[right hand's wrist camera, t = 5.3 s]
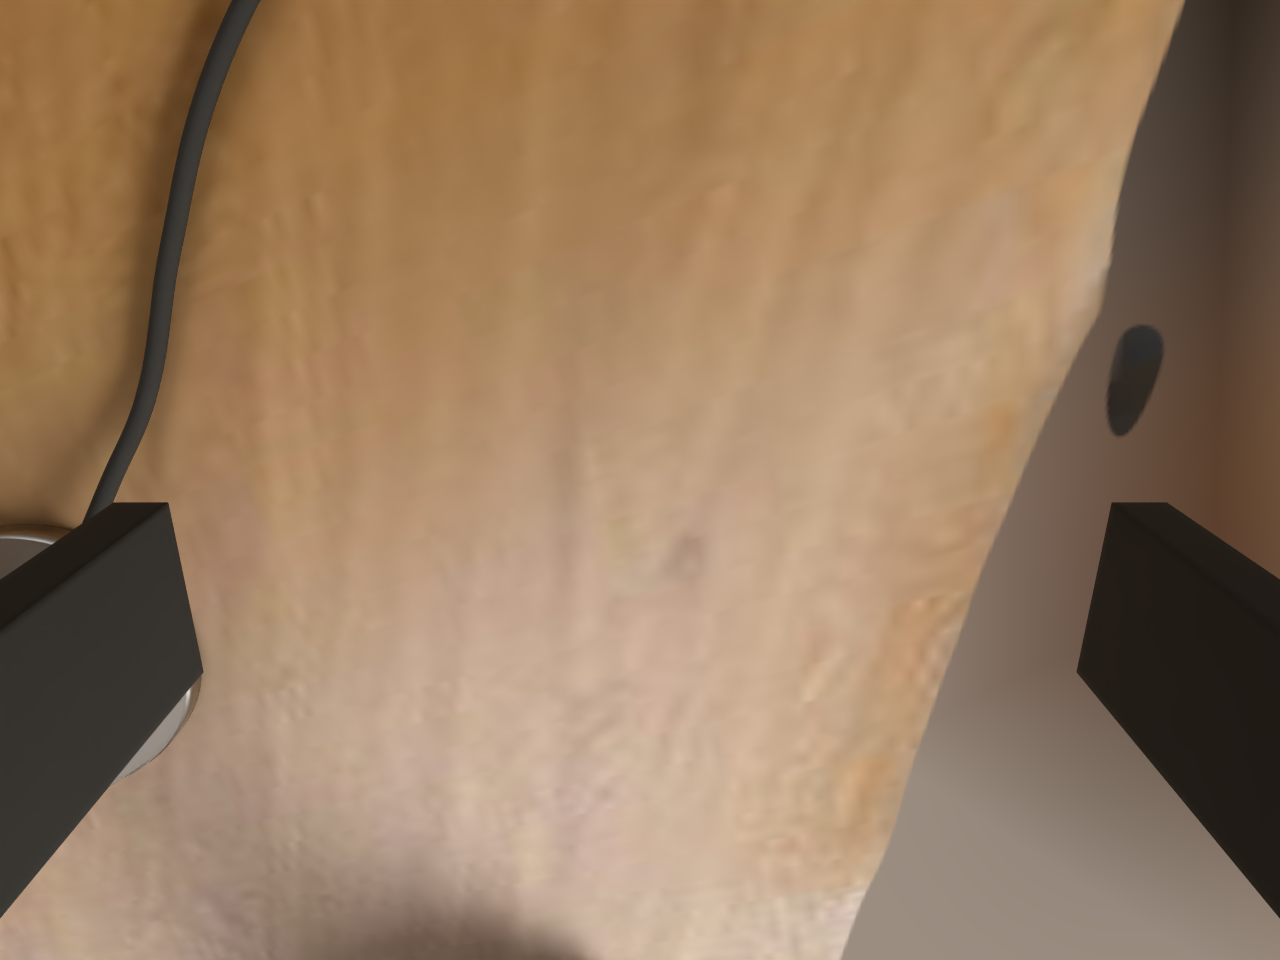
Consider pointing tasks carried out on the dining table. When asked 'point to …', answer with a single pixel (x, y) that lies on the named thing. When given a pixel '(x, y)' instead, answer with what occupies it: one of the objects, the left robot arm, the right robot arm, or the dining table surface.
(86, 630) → the right robot arm
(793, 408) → the dining table surface
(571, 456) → the dining table surface
